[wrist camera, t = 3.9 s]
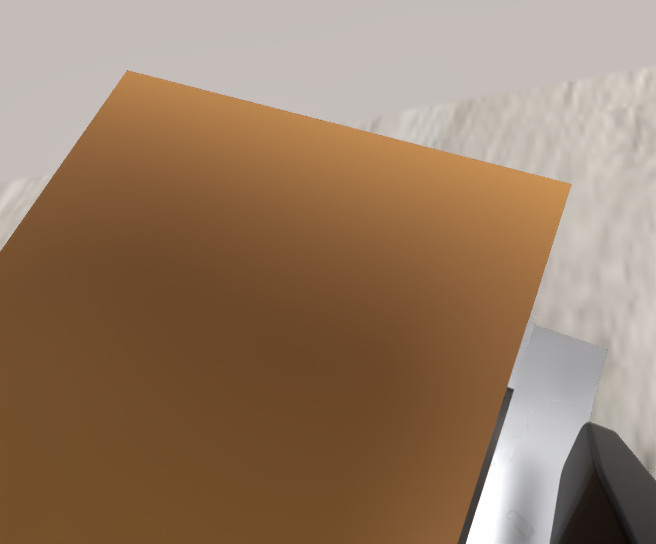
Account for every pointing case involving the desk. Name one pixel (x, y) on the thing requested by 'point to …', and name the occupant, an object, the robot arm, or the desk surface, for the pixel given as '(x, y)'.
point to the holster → (533, 439)
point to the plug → (258, 329)
